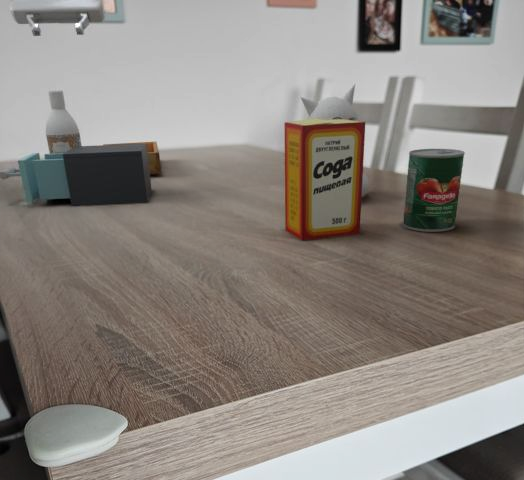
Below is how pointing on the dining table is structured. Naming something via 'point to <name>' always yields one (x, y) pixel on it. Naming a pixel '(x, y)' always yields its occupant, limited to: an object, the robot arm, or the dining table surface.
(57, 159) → the drawer
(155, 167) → the tray
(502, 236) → the dining table surface
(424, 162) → the canned tomato
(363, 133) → the baking soda box
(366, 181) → the decorative figurine
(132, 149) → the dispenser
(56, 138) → the bath foam
